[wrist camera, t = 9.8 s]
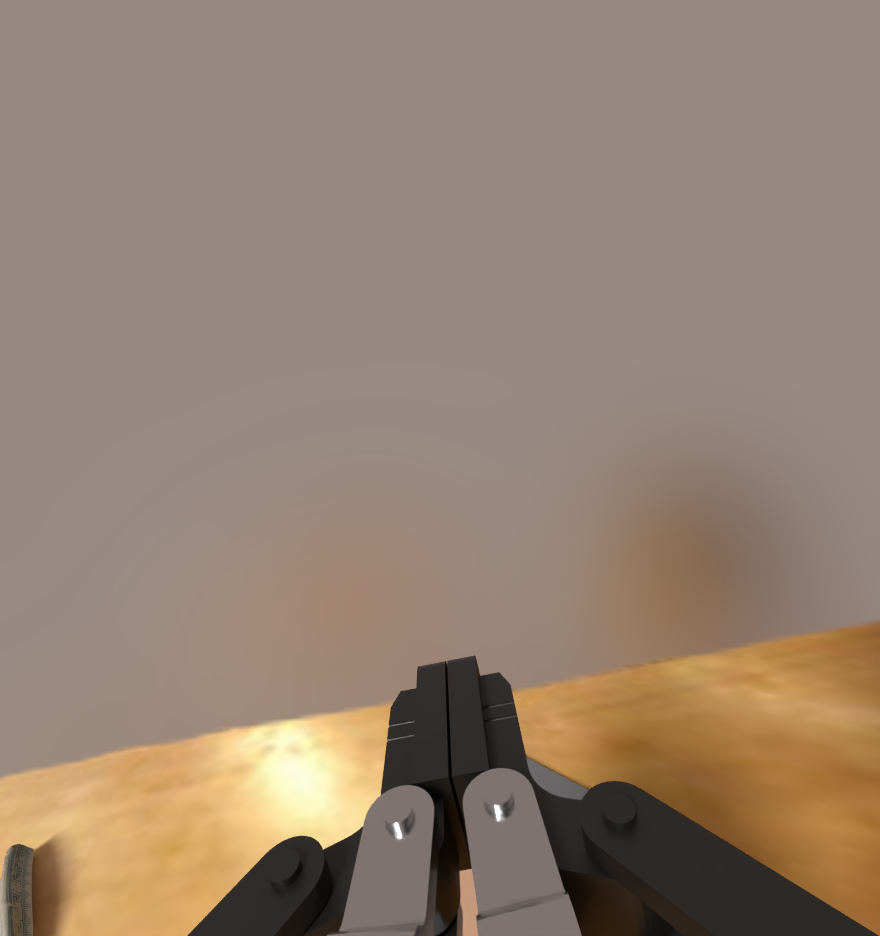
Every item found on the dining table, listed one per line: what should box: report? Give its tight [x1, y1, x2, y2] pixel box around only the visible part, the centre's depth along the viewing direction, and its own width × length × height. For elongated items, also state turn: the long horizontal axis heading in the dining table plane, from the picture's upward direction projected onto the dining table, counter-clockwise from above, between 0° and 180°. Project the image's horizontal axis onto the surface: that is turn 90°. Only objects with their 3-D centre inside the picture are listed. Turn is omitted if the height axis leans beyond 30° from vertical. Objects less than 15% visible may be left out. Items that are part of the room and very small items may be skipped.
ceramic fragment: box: [0, 844, 34, 936], centre depth 36 cm, size 14×5×4 cm, turn 39°
